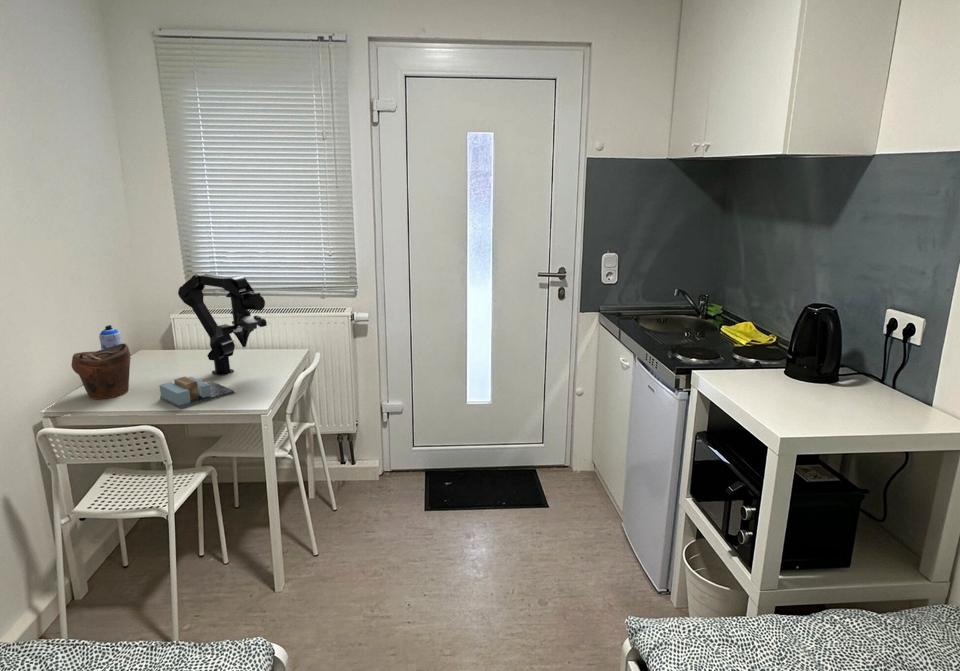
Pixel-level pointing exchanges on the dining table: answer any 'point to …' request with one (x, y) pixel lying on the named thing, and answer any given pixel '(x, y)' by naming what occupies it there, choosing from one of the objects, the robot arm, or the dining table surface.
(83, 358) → the brown tapered container
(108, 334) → the aerosol can
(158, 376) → the dining table surface
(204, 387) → the moving jaw
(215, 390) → the vise bed
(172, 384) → the block
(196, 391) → the walnut block
